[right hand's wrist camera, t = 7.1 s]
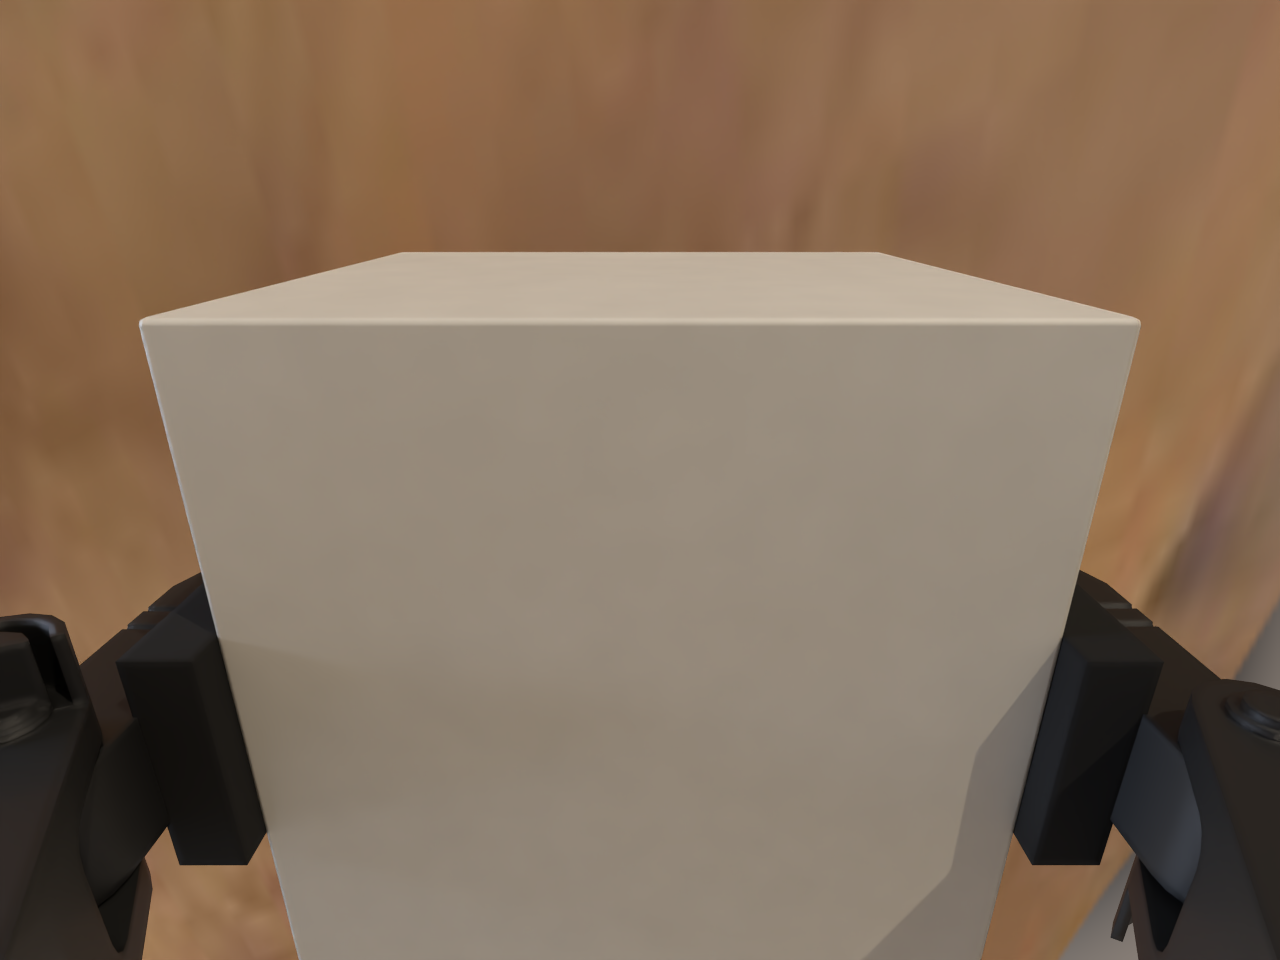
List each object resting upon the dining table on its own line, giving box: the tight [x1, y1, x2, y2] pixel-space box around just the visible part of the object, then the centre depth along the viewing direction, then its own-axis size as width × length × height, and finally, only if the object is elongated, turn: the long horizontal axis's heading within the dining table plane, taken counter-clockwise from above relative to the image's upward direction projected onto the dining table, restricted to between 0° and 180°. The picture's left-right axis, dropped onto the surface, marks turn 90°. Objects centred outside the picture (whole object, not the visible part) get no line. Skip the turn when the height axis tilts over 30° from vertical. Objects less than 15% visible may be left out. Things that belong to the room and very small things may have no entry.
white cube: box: [139, 252, 1141, 960], centre depth 11 cm, size 9×9×8 cm
